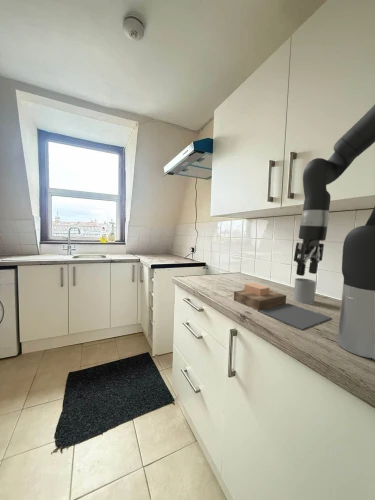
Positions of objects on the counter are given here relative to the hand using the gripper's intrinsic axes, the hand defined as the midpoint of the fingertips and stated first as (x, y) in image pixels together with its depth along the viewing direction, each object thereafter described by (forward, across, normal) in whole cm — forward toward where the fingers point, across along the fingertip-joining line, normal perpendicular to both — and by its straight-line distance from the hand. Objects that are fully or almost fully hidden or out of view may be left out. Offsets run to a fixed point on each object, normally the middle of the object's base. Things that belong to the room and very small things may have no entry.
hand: (306, 274), depth 66 cm
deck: (+19, +8, +21) cm, 29 cm away
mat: (+18, +7, +5) cm, 20 cm away
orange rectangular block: (+15, +8, +24) cm, 29 cm away
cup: (+18, +29, +12) cm, 36 cm away
